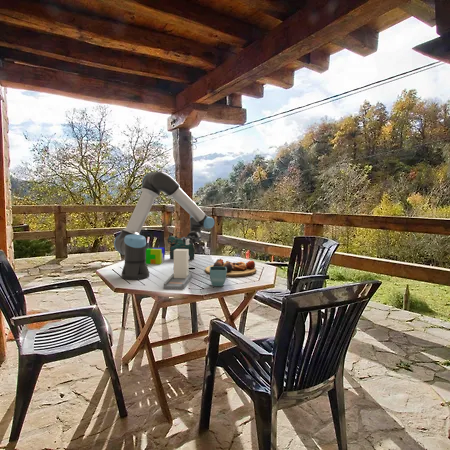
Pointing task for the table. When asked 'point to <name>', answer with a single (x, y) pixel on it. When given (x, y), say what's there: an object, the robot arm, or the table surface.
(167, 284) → the grey chute
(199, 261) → the table surface
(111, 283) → the table surface
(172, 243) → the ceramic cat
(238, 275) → the wooden plate with food
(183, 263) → the cream block
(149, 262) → the puzzle toy
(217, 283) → the flower pot
